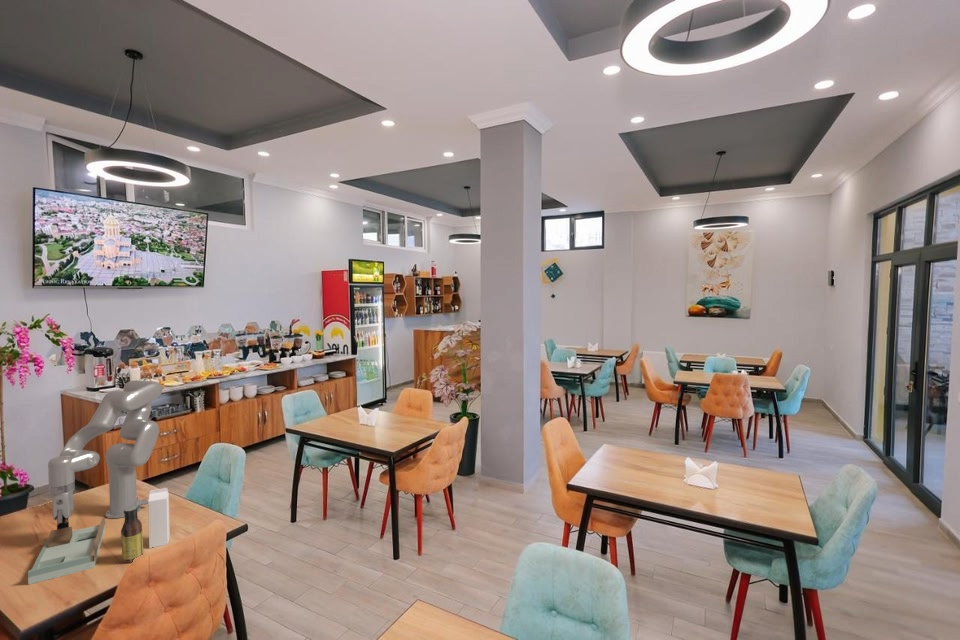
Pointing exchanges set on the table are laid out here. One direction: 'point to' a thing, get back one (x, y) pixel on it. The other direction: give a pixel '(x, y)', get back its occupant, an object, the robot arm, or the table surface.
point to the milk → (158, 517)
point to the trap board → (69, 555)
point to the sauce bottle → (131, 535)
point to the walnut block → (59, 537)
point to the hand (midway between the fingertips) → (63, 533)
